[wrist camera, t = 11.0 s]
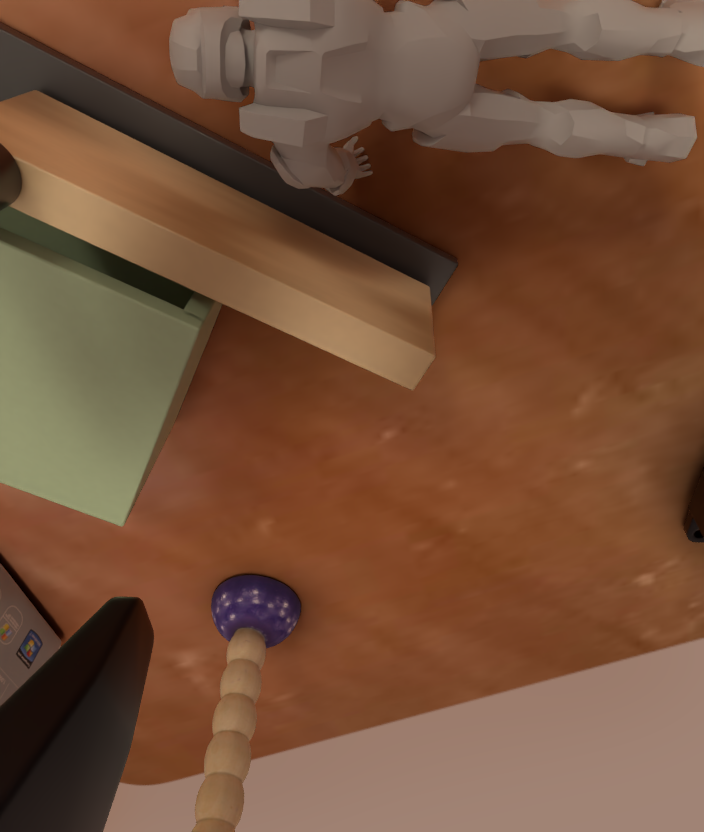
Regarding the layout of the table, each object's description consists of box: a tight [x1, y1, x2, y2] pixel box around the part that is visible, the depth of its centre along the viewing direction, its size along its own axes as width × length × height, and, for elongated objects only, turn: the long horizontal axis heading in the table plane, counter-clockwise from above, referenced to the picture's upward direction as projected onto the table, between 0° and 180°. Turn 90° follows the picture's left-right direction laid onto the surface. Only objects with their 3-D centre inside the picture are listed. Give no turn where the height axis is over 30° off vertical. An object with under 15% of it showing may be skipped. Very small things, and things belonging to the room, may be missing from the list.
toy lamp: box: [192, 575, 301, 832], centre depth 23 cm, size 5×5×17 cm
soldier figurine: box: [169, 0, 704, 196], centre depth 14 cm, size 6×5×12 cm
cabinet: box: [0, 23, 458, 526], centre depth 18 cm, size 20×10×6 cm, turn 64°
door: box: [0, 90, 436, 390], centre depth 14 cm, size 12×2×10 cm, turn 64°
